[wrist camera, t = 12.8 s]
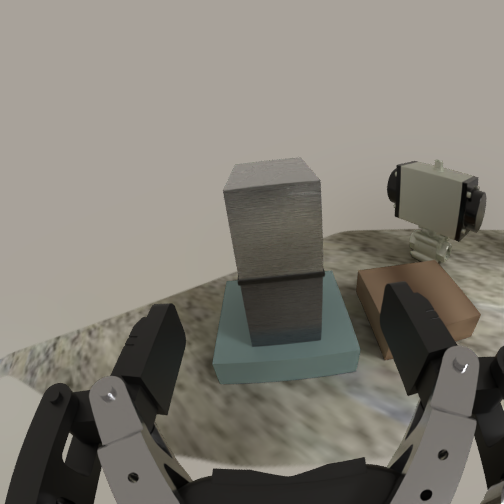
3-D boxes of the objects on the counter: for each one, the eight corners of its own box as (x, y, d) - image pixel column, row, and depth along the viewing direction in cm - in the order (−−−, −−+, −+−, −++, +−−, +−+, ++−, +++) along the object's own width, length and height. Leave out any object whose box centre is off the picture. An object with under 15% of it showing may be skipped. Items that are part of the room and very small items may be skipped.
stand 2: (430, 279, 25) (434, 259, 24) (471, 335, 17) (480, 314, 16) (356, 291, 26) (358, 270, 25) (384, 360, 18) (391, 338, 17)
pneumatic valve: (459, 285, 23) (481, 176, 18) (382, 247, 33) (386, 153, 27) (474, 266, 25) (491, 170, 20) (404, 235, 35) (408, 149, 29)
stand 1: (331, 291, 27) (331, 270, 26) (355, 371, 18) (360, 349, 17) (231, 301, 28) (226, 281, 26) (220, 384, 19) (212, 363, 18)
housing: (309, 282, 24) (301, 157, 19) (322, 341, 18) (322, 180, 13) (253, 288, 25) (233, 164, 20) (250, 348, 19) (220, 191, 13)
